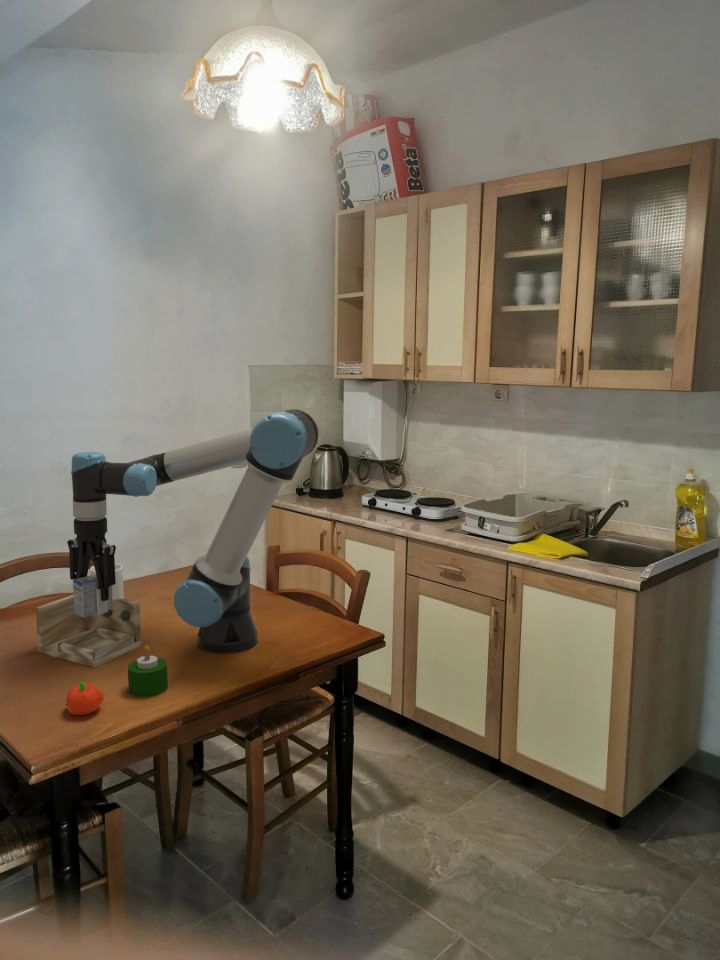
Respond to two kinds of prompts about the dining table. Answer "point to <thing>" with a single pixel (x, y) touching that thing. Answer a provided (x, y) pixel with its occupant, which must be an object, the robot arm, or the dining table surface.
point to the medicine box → (87, 596)
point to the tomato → (83, 699)
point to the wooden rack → (88, 631)
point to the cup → (118, 587)
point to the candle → (147, 675)
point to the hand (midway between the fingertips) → (93, 610)
